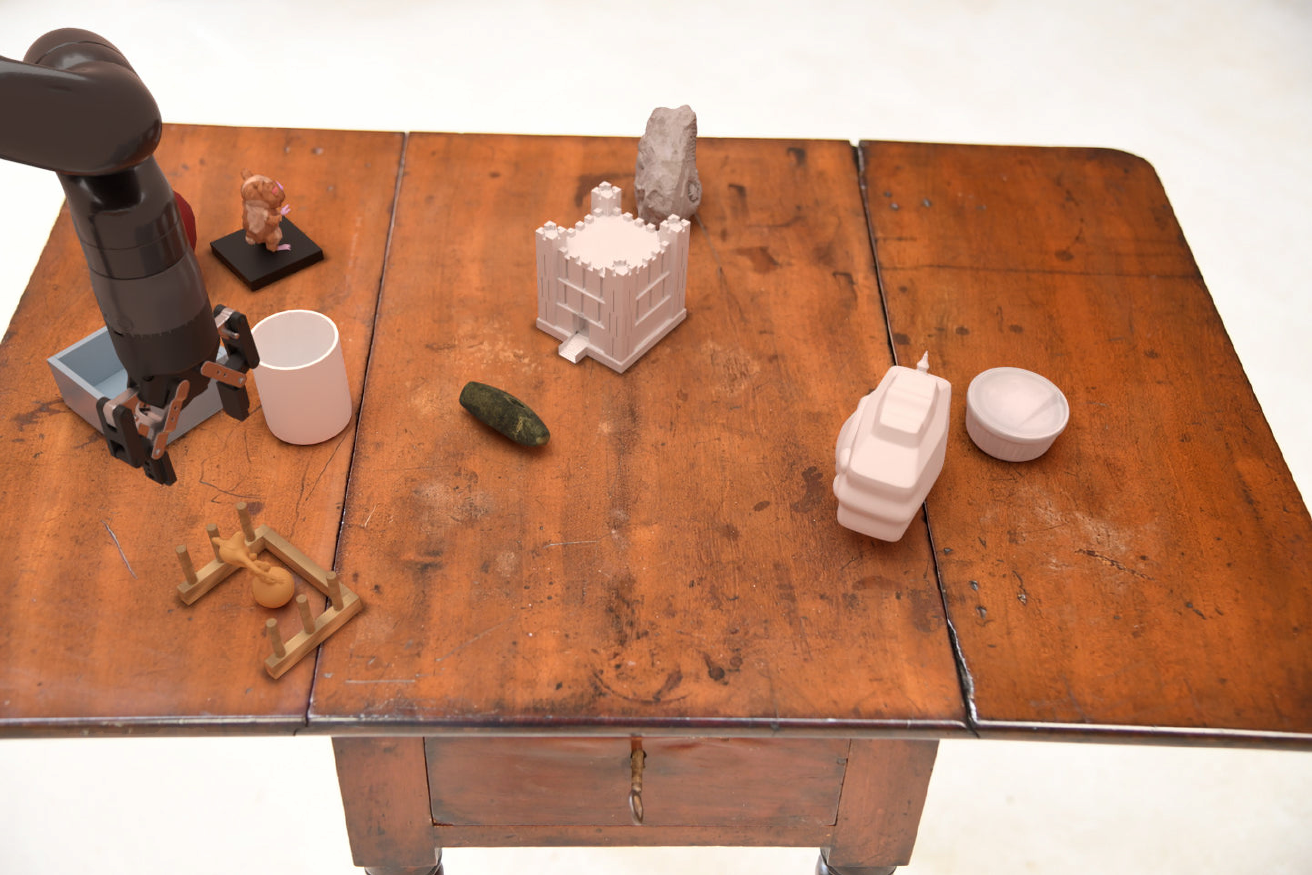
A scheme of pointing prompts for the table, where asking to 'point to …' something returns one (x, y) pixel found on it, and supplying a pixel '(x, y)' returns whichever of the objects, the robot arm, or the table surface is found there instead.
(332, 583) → the drying rack
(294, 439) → the mug
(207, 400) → the light blue open box
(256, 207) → the figurine
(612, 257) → the castle model
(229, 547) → the figurine
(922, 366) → the white tiered block
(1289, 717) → the table surface
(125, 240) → the robot arm
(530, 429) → the decorative stone
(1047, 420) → the ramekin
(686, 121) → the fossil
